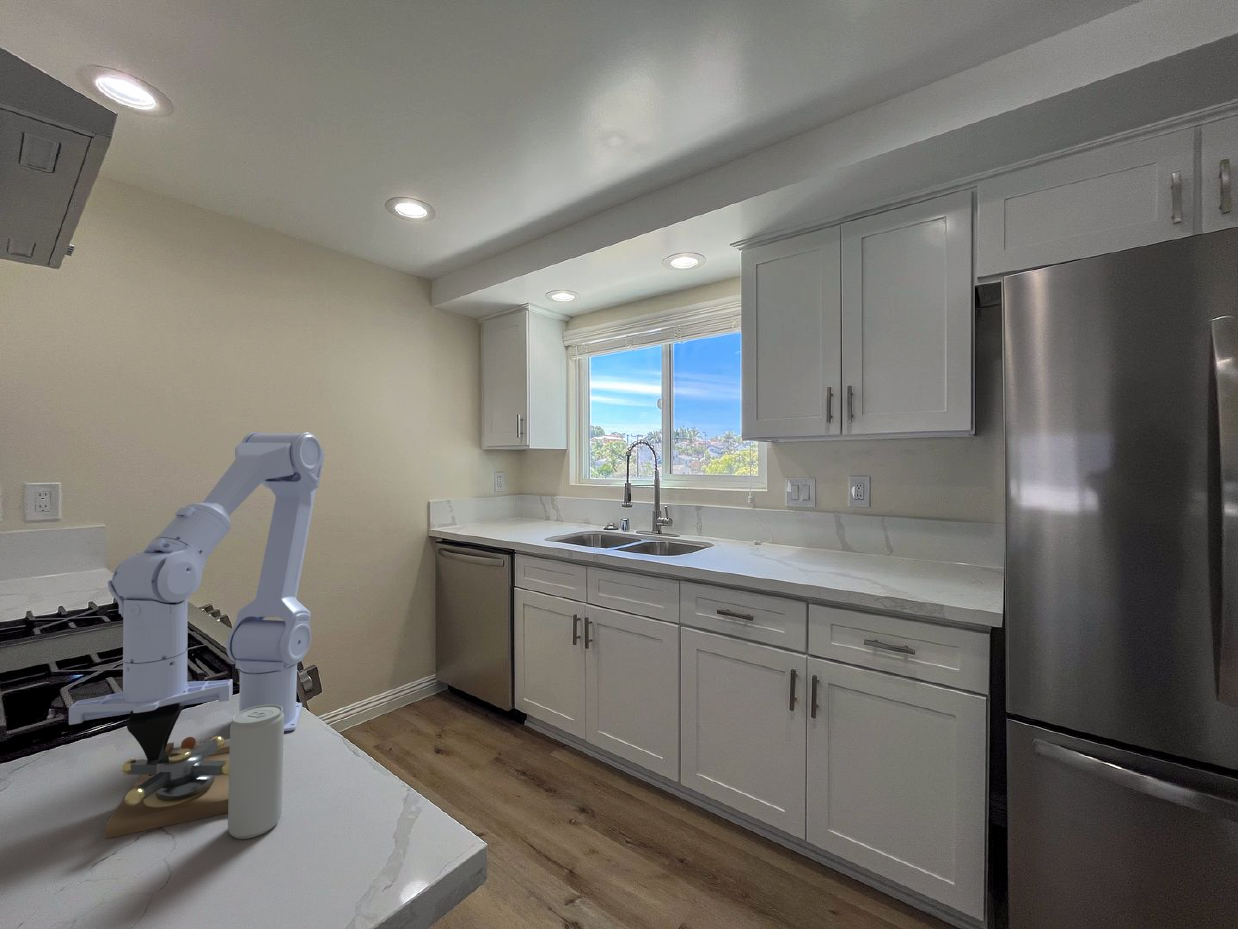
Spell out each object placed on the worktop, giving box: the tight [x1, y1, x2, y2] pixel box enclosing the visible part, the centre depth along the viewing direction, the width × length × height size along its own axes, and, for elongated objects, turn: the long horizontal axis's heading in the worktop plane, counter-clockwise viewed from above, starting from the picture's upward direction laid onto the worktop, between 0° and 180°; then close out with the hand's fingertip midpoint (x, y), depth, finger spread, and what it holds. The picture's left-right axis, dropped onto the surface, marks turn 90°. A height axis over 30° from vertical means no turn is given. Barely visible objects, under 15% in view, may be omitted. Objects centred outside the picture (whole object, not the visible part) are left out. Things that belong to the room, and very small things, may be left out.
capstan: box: [120, 735, 229, 806], centre depth 61 cm, size 13×13×4 cm
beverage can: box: [227, 705, 285, 840], centre depth 58 cm, size 5×5×12 cm
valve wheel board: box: [104, 736, 230, 839], centre depth 65 cm, size 16×12×4 cm
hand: (155, 771), depth 63 cm, fingers closed, pressing on capstan
